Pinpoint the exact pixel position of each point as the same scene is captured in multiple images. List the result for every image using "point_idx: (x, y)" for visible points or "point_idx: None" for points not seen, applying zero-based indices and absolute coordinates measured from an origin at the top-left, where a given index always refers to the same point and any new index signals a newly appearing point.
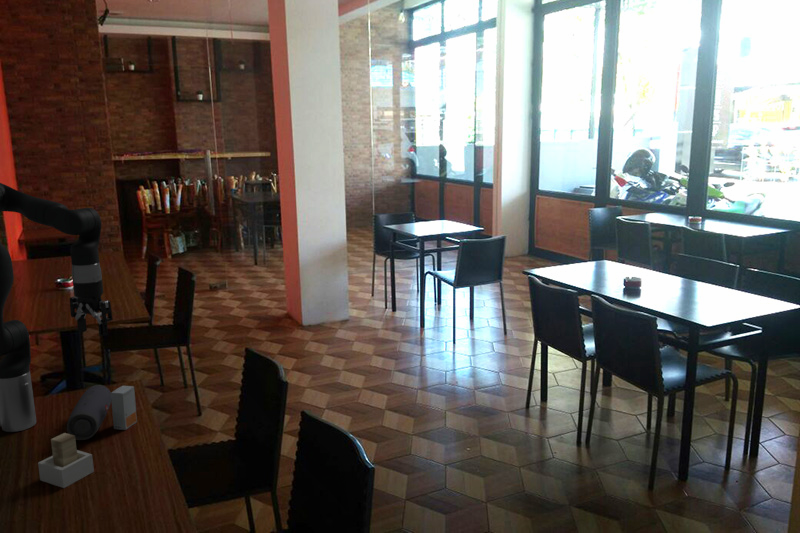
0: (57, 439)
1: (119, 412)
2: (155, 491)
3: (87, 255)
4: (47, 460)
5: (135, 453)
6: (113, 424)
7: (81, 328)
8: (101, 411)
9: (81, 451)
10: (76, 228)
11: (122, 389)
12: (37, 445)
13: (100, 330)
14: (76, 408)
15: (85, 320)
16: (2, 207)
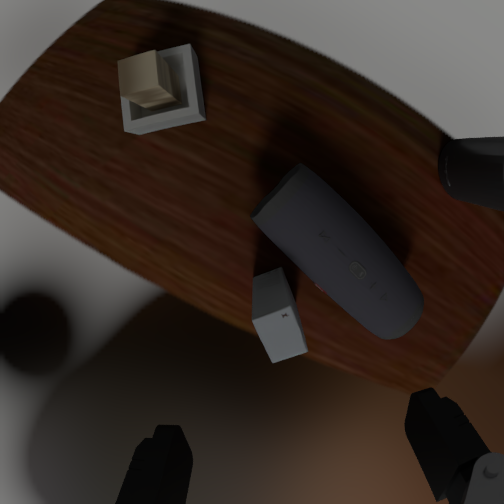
0: (138, 59)
1: (264, 289)
2: (19, 173)
3: None
4: (183, 59)
5: (139, 225)
6: (282, 270)
7: (423, 420)
8: (291, 259)
9: (155, 122)
10: None
11: (280, 336)
12: (354, 129)
13: (146, 459)
14: (330, 211)
15: (432, 489)
16: None
